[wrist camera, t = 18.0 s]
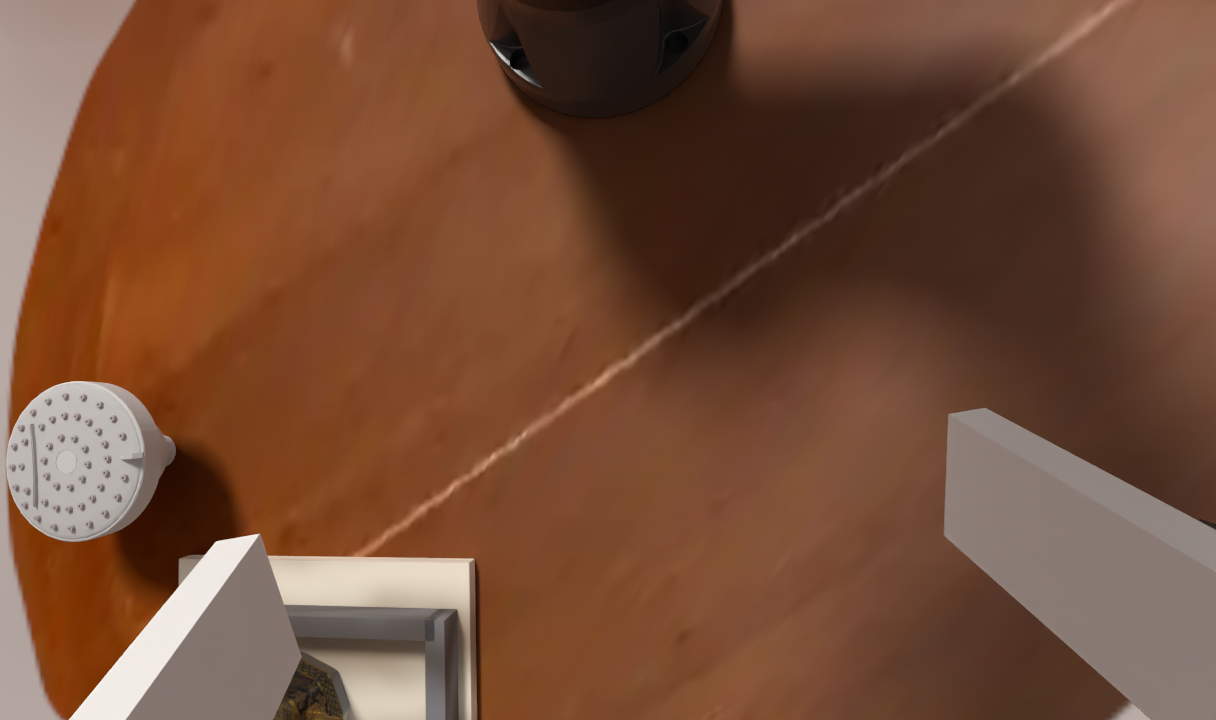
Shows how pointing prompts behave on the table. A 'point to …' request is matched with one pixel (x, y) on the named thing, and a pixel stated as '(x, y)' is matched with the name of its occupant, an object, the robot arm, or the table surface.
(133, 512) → the showerhead
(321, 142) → the table surface
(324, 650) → the square frame board
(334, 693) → the ceramic cup
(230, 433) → the table surface
